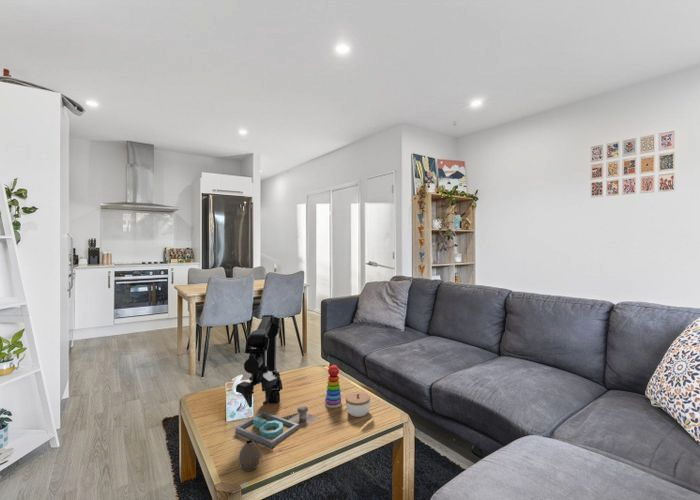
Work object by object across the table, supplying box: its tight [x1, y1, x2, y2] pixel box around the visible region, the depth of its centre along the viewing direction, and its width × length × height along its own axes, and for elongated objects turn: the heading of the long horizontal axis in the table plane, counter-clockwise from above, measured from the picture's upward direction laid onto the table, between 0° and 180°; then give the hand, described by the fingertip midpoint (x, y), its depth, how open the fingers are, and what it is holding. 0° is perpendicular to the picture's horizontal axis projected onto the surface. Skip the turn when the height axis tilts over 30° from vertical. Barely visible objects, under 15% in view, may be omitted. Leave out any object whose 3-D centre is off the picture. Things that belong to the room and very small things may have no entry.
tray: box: [234, 411, 300, 450], centre depth 137 cm, size 20×15×2 cm
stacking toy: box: [324, 364, 343, 409], centre depth 158 cm, size 8×8×19 cm
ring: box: [252, 417, 284, 439], centre depth 137 cm, size 14×9×3 cm, turn 57°
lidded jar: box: [345, 391, 371, 418], centre depth 150 cm, size 11×11×9 cm
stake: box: [288, 405, 320, 429], centre depth 145 cm, size 10×10×6 cm
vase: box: [238, 439, 261, 472], centre depth 116 cm, size 7×7×9 cm
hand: (259, 402), depth 139 cm, fingers open, 9 cm apart
